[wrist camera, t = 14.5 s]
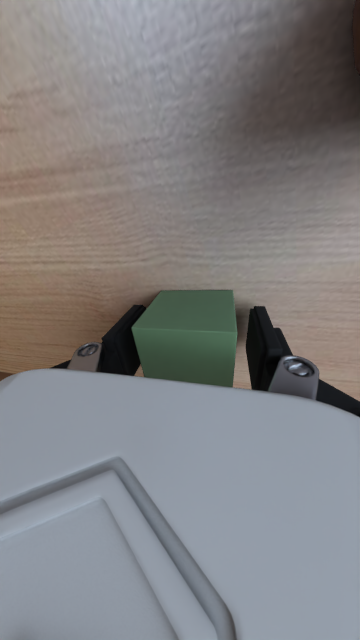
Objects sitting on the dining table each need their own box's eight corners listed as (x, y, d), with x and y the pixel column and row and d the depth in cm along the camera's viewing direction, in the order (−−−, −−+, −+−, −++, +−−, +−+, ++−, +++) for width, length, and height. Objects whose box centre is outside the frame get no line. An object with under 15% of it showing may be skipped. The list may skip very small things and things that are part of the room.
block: (169, 344, 14) (148, 394, 10) (161, 290, 12) (130, 327, 8) (229, 348, 13) (231, 405, 9) (232, 289, 11) (237, 332, 7)
